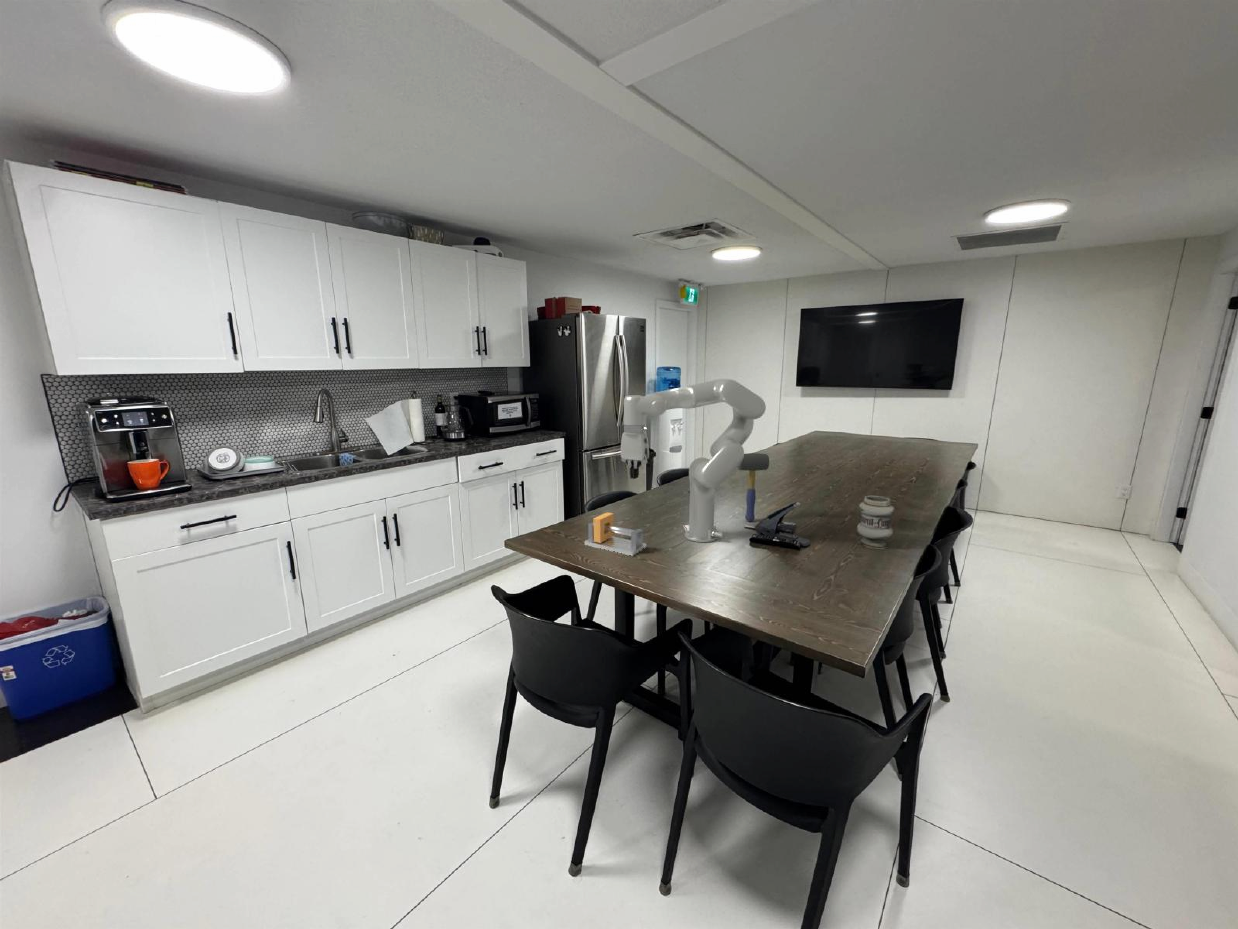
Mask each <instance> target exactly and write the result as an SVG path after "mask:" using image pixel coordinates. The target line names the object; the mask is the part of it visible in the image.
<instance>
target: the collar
mask: <svg viewBox="0 0 1238 929" xmlns="http://www.w3.org/2000/svg"><path fill="white" fill-rule="evenodd" d="M614 515H615V514H614V513H612V512H605V513H602V514H600V515H598V516H596V517H593V521H592V522H594V542H599V543H601V542H603V541H605V540H607V539H609V538H611V537H612V536H613V537H615V533H613V532H608V531H604V524H606V525H611V526H615V524H614V518H615V517H614Z"/></svg>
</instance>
